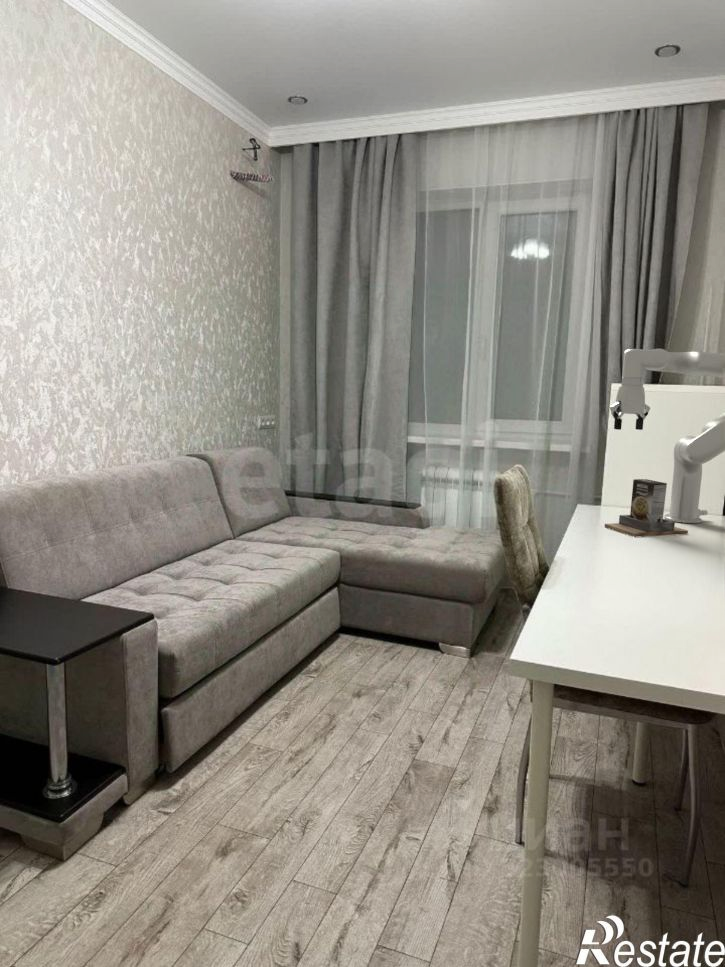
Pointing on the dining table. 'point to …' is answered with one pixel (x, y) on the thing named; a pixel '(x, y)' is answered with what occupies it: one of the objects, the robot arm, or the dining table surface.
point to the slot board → (645, 527)
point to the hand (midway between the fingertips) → (628, 429)
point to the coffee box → (648, 500)
